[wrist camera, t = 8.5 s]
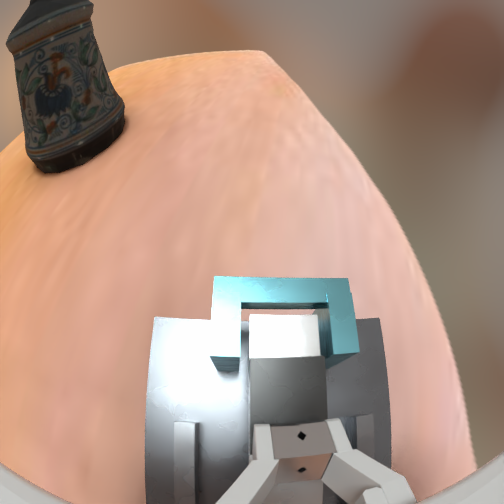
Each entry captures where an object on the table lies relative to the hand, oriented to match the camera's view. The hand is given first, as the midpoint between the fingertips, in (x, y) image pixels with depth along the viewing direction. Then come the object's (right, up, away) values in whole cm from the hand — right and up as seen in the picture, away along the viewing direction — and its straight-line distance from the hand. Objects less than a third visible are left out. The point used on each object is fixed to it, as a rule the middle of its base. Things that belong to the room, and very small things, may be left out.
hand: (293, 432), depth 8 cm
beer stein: (-28, +24, +25) cm, 45 cm away
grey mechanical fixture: (0, -11, +4) cm, 12 cm away
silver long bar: (0, -7, -1) cm, 7 cm away
